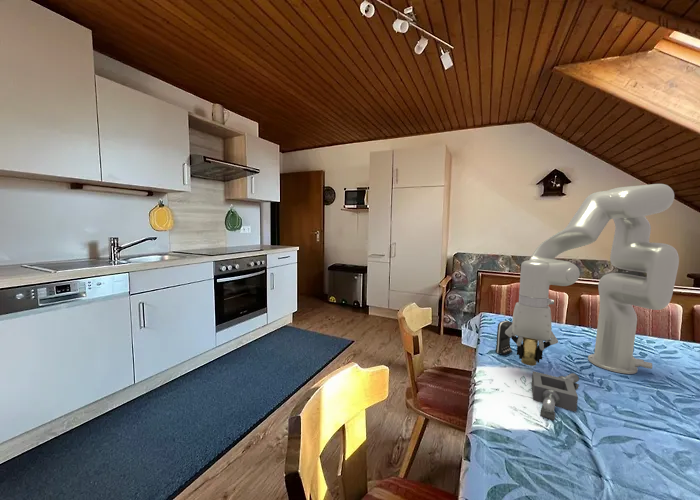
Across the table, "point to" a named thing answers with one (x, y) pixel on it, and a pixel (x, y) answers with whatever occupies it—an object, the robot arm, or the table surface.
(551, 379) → the grey square frame
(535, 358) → the yellow cylinder
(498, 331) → the battery charger
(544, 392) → the shaft
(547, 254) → the robot arm
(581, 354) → the table surface
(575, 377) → the shaft
